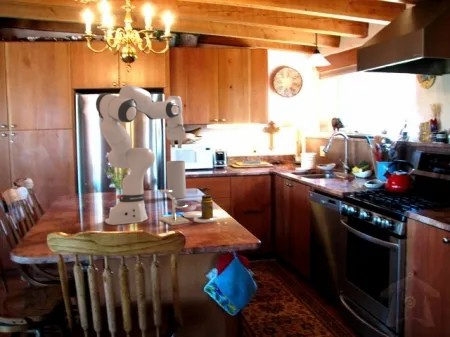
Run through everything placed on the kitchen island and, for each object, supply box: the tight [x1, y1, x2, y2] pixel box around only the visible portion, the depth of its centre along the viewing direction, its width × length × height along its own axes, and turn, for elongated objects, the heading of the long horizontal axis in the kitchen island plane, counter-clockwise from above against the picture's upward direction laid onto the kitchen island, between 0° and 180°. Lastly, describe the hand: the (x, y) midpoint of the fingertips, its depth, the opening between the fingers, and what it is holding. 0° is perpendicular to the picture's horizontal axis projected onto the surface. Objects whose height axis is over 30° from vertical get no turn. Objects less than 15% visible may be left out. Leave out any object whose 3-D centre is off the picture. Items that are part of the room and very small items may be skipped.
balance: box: [159, 189, 190, 226], centre depth 243 cm, size 10×26×15 cm, turn 30°
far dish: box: [181, 210, 202, 219], centre depth 258 cm, size 13×13×1 cm
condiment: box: [196, 194, 216, 220], centre depth 245 cm, size 7×8×12 cm
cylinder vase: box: [166, 160, 187, 200], centre depth 319 cm, size 12×12×25 cm
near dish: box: [193, 215, 219, 224], centre depth 245 cm, size 13×13×1 cm
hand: (176, 147), depth 270 cm, fingers open, 8 cm apart
